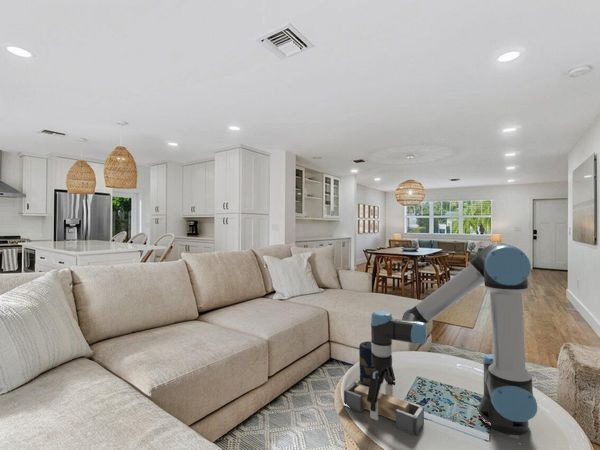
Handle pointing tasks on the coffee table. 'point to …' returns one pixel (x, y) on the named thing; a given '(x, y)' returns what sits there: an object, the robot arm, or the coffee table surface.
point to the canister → (365, 362)
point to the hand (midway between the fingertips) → (382, 409)
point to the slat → (383, 403)
